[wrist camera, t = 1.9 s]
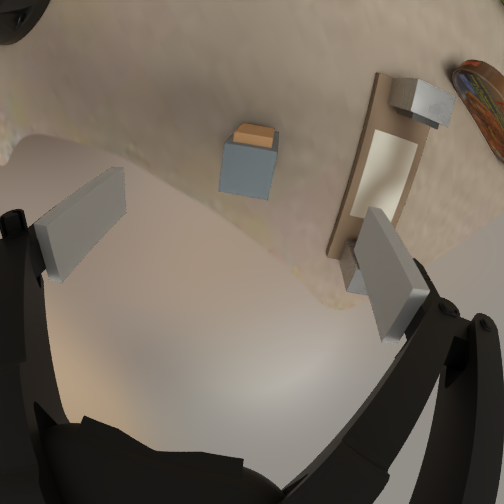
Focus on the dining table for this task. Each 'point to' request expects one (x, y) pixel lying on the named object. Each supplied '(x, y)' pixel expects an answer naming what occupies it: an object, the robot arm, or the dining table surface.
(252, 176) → the block
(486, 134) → the tin
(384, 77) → the brown flat board
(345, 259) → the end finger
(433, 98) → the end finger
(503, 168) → the dining table surface
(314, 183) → the dining table surface
